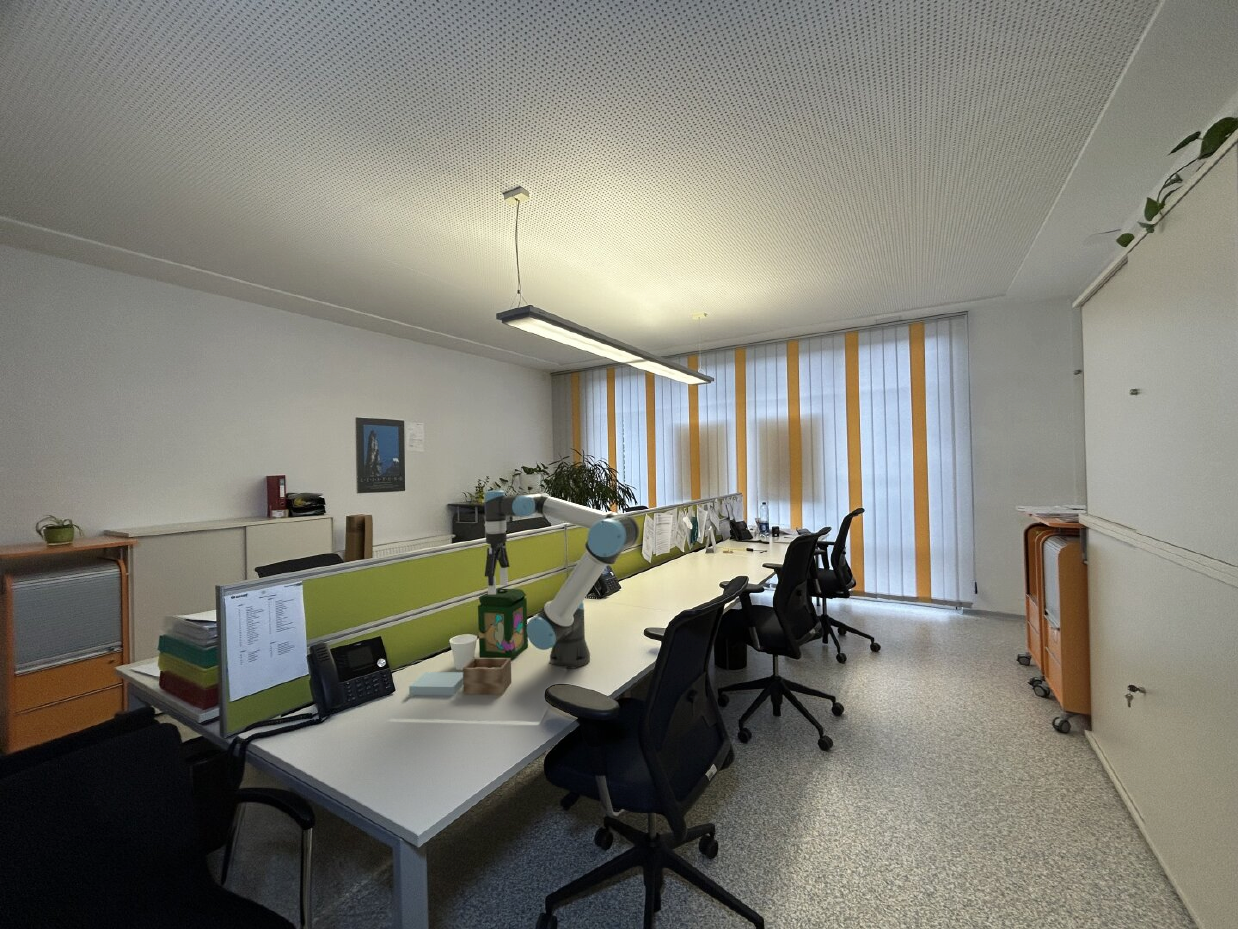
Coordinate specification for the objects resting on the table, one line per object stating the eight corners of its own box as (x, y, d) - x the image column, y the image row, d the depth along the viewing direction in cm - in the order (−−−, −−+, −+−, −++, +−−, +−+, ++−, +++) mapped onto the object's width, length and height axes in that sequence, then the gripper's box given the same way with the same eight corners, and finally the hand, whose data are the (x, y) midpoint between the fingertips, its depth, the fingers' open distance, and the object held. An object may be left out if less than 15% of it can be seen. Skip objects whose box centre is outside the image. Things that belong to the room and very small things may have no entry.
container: (495, 643, 206) (493, 584, 206) (533, 647, 201) (531, 586, 201) (475, 657, 192) (473, 593, 192) (516, 661, 187) (513, 595, 187)
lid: (467, 682, 170) (467, 672, 170) (453, 697, 159) (453, 687, 159) (426, 682, 171) (425, 672, 171) (409, 697, 160) (409, 686, 160)
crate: (511, 684, 167) (510, 658, 167) (502, 697, 158) (501, 669, 158) (474, 684, 168) (473, 657, 168) (463, 696, 159) (462, 668, 159)
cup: (470, 675, 176) (469, 644, 176) (444, 673, 178) (443, 643, 178) (483, 663, 185) (482, 634, 185) (459, 662, 187) (458, 633, 187)
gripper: (497, 528, 195) (499, 581, 195) (473, 537, 171) (476, 598, 171) (515, 527, 195) (517, 581, 195) (494, 536, 170) (497, 598, 170)
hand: (498, 589), depth 183 cm, fingers open, 13 cm apart
